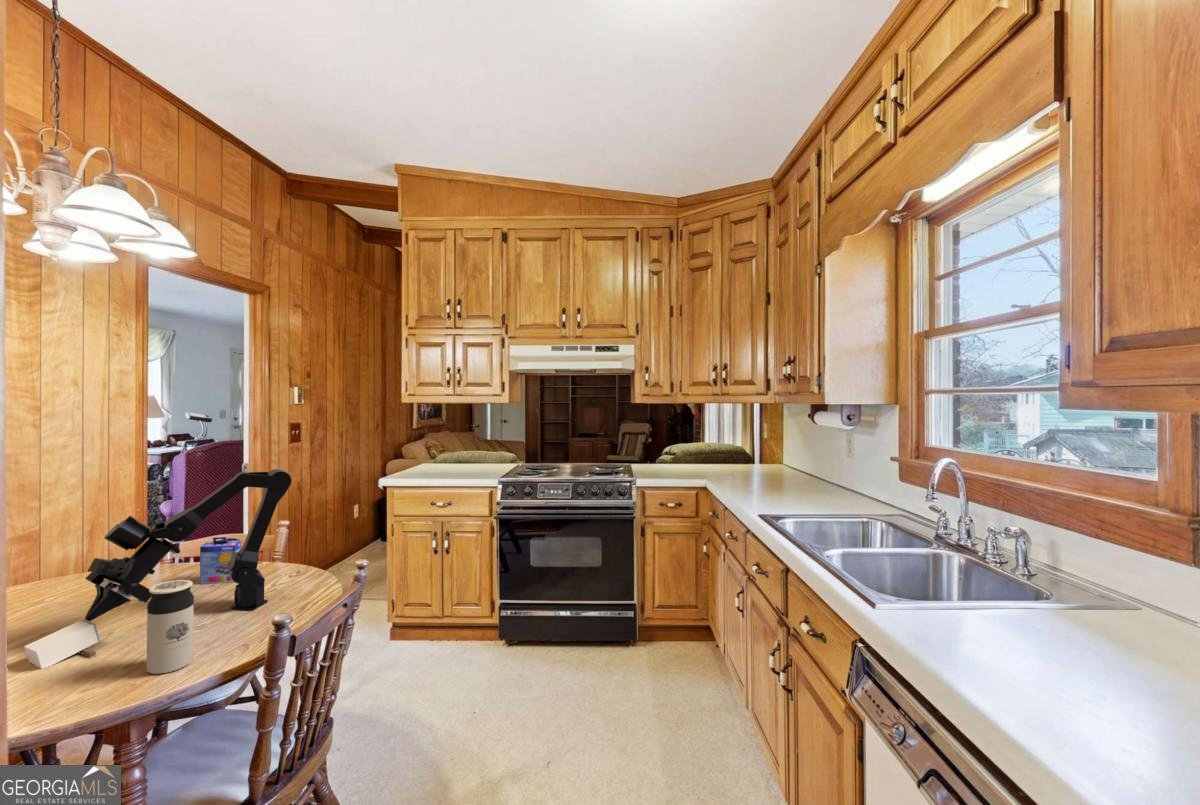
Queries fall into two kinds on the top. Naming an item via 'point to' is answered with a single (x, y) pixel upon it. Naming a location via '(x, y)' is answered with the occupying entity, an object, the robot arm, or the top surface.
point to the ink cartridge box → (216, 560)
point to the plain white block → (62, 644)
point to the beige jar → (170, 626)
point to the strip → (88, 652)
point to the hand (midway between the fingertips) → (86, 620)
